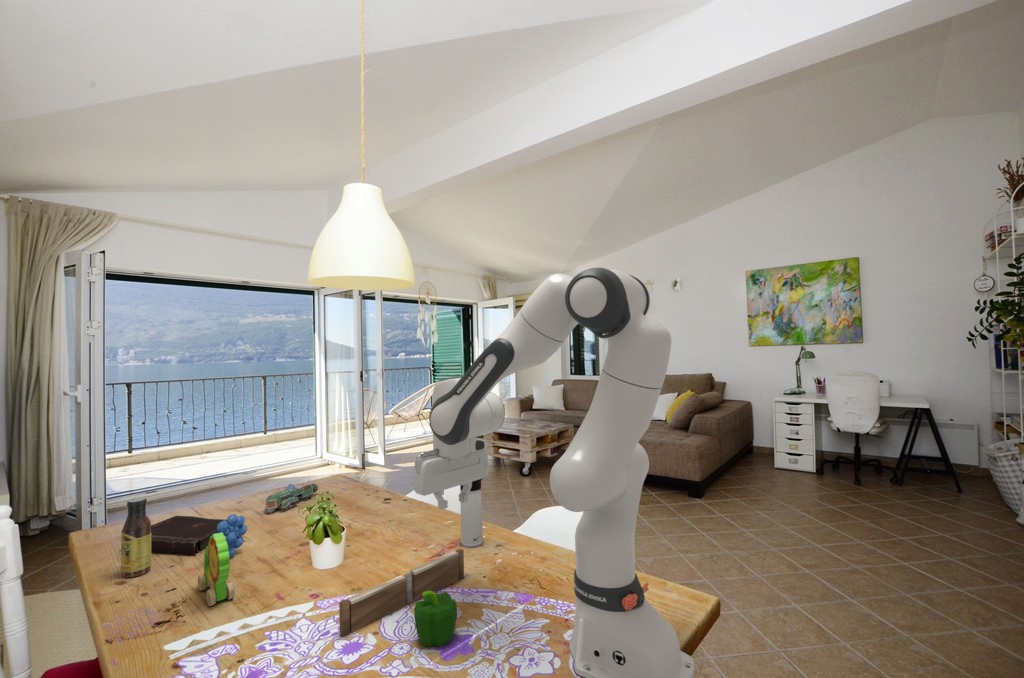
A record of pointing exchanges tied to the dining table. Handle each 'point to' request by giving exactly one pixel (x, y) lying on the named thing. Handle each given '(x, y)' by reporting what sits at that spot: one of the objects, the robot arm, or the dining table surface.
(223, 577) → the toy lion
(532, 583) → the dining table surface
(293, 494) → the hoverbike
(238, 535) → the grapes
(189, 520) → the diary
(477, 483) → the travel mug
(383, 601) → the fixed fence
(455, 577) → the hinged panel
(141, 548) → the sauce bottle
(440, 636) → the bell pepper
